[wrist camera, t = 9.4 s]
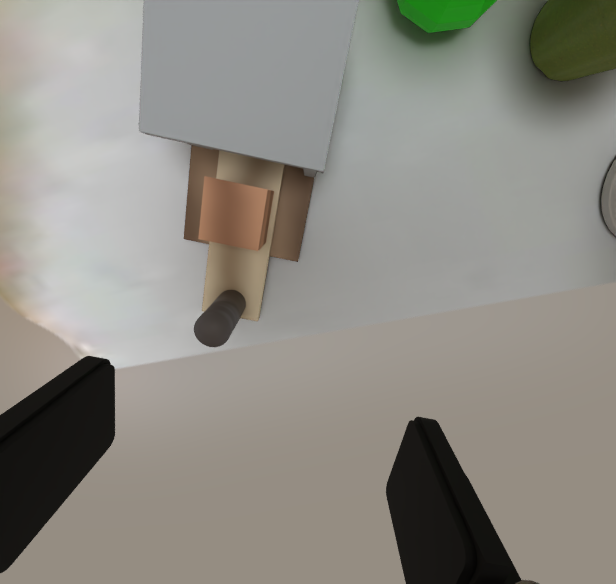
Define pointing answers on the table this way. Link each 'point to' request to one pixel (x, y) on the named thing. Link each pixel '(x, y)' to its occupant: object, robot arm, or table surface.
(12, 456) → the robot arm
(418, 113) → the table surface
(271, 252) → the track board
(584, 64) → the plant pot
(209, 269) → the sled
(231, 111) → the tunnel
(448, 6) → the plastic bottle
